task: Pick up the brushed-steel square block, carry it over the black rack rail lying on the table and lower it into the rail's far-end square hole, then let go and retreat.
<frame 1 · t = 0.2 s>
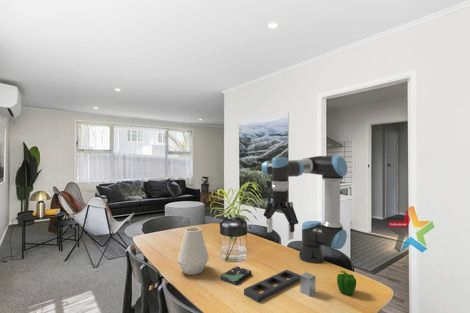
hand: (279, 235, 122), 27 cm above the table, fingers open, 13 cm apart
vase: (193, 270, 146), on the table
bell pepper: (346, 292, 123), on the table
rack rail: (273, 286, 128), on the table
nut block: (307, 292, 122), on the table
disk drive: (236, 278, 138), on the table
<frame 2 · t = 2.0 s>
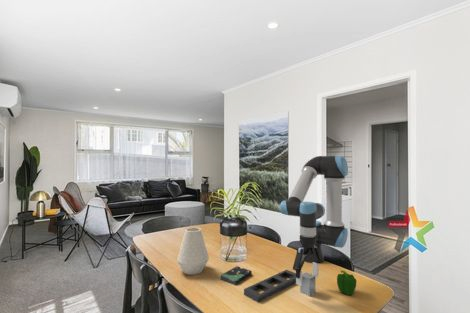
hand: (307, 280, 122), 6 cm above the table, fingers open, 13 cm apart
nothing on the table moved.
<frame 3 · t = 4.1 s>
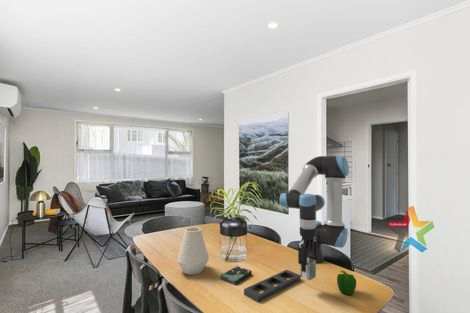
hand: (308, 275, 123), 8 cm above the table, fingers closed on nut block, 5 cm apart
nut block: (308, 276, 123), point 7 cm above the table, touching gripper
everything else where it was.
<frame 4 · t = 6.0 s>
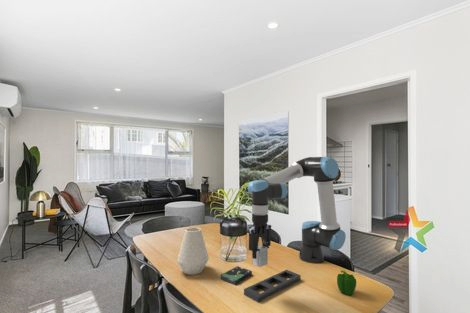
hand: (259, 263, 121), 14 cm above the table, fingers closed on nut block, 5 cm apart
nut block: (259, 263, 121), point 14 cm above the table, touching gripper
everything else where it was.
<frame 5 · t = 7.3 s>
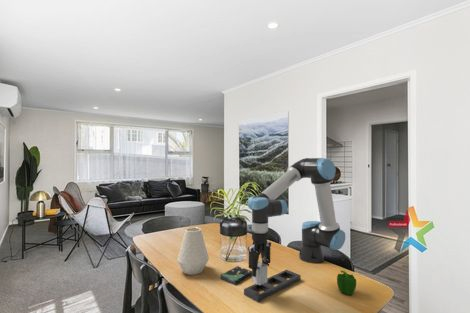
hand: (259, 281, 121), 6 cm above the table, fingers closed on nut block, 5 cm apart
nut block: (259, 281, 121), point 6 cm above the table, touching gripper
everything else where it was.
when the fingers open (3 cm above the table, at t = 8.1 s): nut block drops 3 cm, resting in rack rail.
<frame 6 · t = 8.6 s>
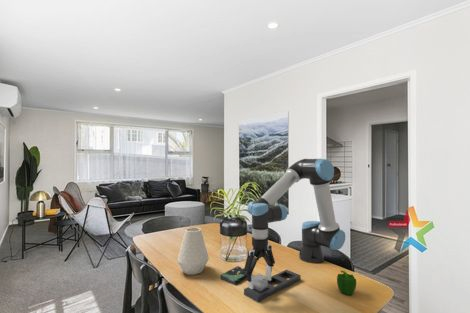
hand: (259, 283, 121), 5 cm above the table, fingers open, 11 cm apart
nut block: (259, 294, 121), resting in rack rail
everything else where it was.
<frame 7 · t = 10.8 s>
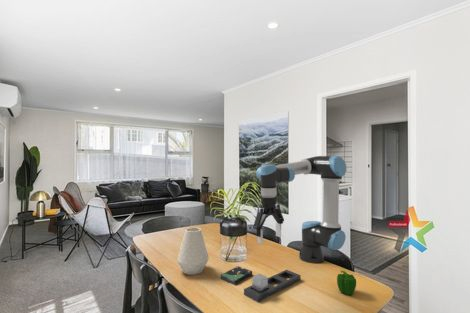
hand: (269, 239, 127), 24 cm above the table, fingers open, 13 cm apart
nothing on the table moved.
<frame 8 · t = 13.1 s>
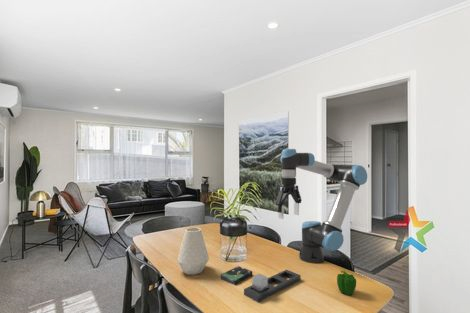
hand: (288, 216, 141), 32 cm above the table, fingers open, 13 cm apart
nothing on the table moved.
at the end: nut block 0.0 cm from the target spot on the rack rail, point 0.0 cm above the rack rail's base; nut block tilted 0°; the gripper is holding nothing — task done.
